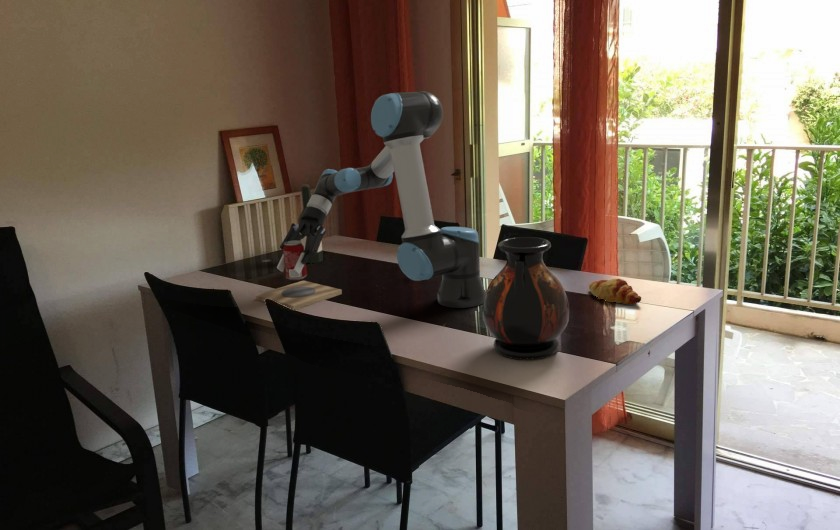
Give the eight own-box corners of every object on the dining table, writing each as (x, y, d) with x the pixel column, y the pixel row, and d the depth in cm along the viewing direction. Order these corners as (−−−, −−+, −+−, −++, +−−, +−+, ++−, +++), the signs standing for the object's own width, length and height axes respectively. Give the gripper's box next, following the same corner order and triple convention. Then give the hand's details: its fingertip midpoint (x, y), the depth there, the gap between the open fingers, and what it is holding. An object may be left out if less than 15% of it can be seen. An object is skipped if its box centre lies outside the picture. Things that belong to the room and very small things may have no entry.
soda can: (302, 281, 235) (299, 244, 232) (283, 281, 237) (279, 245, 234) (310, 275, 242) (306, 239, 238) (290, 275, 243) (286, 240, 240)
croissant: (583, 303, 230) (573, 283, 226) (603, 283, 233) (594, 264, 229) (633, 319, 212) (624, 298, 208) (655, 297, 215) (646, 276, 211)
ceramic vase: (492, 332, 199) (489, 232, 191) (573, 336, 192) (573, 232, 185) (475, 363, 179) (471, 252, 172) (564, 368, 173) (564, 254, 165)
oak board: (341, 293, 241) (341, 288, 240) (293, 310, 227) (293, 304, 226) (303, 284, 254) (303, 279, 254) (255, 299, 240) (255, 294, 239)
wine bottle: (321, 263, 281) (314, 186, 274) (300, 264, 282) (292, 187, 274) (324, 257, 289) (317, 182, 282) (303, 258, 290) (296, 183, 282)
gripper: (345, 219, 242) (317, 280, 233) (300, 215, 252) (272, 273, 243) (333, 206, 236) (304, 268, 227) (288, 203, 246) (259, 262, 238)
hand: (288, 270), depth 235 cm, fingers closed on soda can, 7 cm apart
